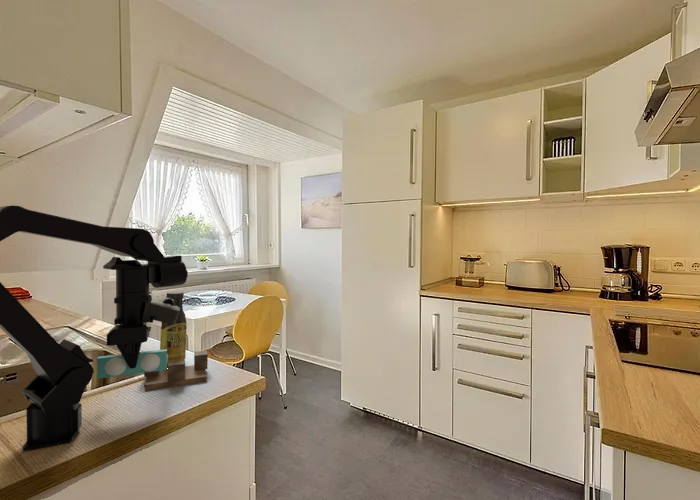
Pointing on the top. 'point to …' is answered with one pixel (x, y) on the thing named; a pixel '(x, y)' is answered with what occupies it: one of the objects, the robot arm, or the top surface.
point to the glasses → (119, 367)
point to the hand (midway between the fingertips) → (133, 366)
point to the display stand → (179, 373)
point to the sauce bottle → (175, 332)
